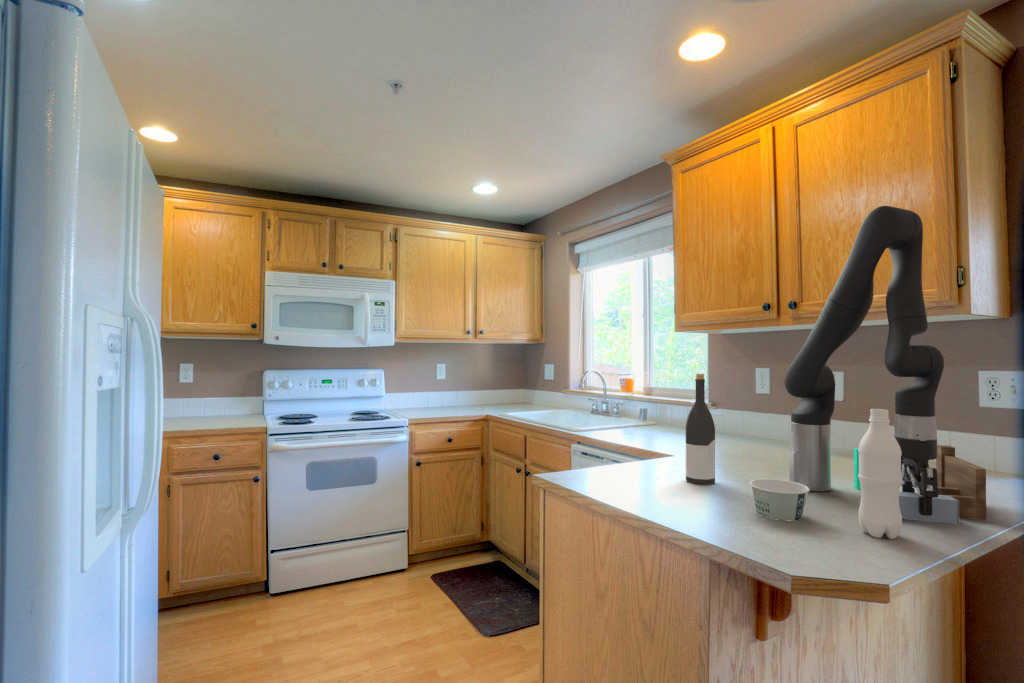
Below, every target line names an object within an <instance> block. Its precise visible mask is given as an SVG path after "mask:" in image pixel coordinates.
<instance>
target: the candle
mask: <svg viewBox="0 0 1024 683" xmlns="http://www.w3.org/2000/svg"><path fill="white" fill-rule="evenodd" d="M858 448H859V447H858ZM858 448H857V447H854V449H853V477H854V478H853V483H854V485H853V486H854V489H856V490H858V491H861V485H860V481H859V477H858V474H859V451H858Z"/></svg>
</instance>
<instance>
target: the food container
mask: <svg viewBox="0 0 1024 683" xmlns="http://www.w3.org/2000/svg"><path fill="white" fill-rule="evenodd" d="M749 485H750V487H751V488H752V489H751V490H752V494H753V500H754V506H755V511H756V513H757V515H759V514H760V515H759V516H761V515H762V516H761V517H763V516H765V517H764V518H766V517H768V518H767V519H769V518H772V519H771V520H774V519H778V520H777V521H780V520H797V521H800V520H799V519H801V520H802V519H803V516H804V512H805V506H806V501H807V496H808V493H809V492H811V491H810V489H809V488H808V487H807V486H805V485H802V484H799V483H796V482H791V481H790V480H784V479H775V478H773V479H772V478H759V479H753V480H750V482H749Z"/></svg>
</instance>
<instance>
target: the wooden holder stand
mask: <svg viewBox="0 0 1024 683" xmlns="http://www.w3.org/2000/svg"><path fill="white" fill-rule="evenodd" d="M935 463H936V466H935V467H936V470H937V483H938V495H947V496H951V497H953V498H955V499H957V500H958V501H959V519H962V518H963V519H970V520H971V519H972V520H974V519H975V520H983V521H987V468H984V467H982V466H979V465H976V464H974V463H972V462H969V461H967V460H963V459H962V458H959V457H957V456H956V447H954V446H952V445H941V444H940V445H939V444H937V458H936V459H935Z"/></svg>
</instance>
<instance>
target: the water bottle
mask: <svg viewBox="0 0 1024 683" xmlns="http://www.w3.org/2000/svg"><path fill="white" fill-rule="evenodd" d="M868 421H869V426H868V428H867V431H865V434H864V435H863V437H862V438H861V439H860V442H859V443H858V451H859V474H858V477H859V481H860V485H861V490H860V502H859V503H860V504H859V508H858V512H857V515H858V517H857V518H858V523H859V526H860V529H861V531H862V532H863V533H865V534H869V535H870V536H871V537H873V538H875V539H876V538H878V539H881V538H882V537H883V536H884V534H885V536H886V537H887V538H888V539H890V540H894V539H897V537H898V536H899V535H900V533H901V531H902V528H903V519H902V515H901V512H900V506H899V492H900V491H901V482H902V479H901V455H902V452H901V448H900V446H899V444H898V442H897V440H896V439H895V437H894V433H892V432H893V431H891V427H890V423H891V420H890V417H889V410H888V409H884V408H870V415H869V419H868Z"/></svg>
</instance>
